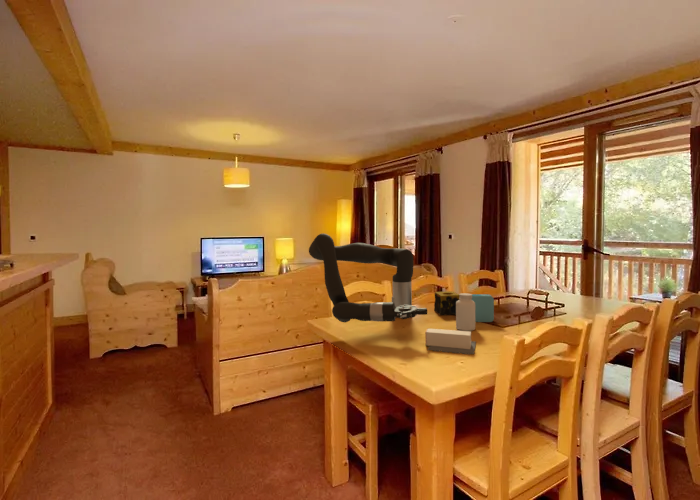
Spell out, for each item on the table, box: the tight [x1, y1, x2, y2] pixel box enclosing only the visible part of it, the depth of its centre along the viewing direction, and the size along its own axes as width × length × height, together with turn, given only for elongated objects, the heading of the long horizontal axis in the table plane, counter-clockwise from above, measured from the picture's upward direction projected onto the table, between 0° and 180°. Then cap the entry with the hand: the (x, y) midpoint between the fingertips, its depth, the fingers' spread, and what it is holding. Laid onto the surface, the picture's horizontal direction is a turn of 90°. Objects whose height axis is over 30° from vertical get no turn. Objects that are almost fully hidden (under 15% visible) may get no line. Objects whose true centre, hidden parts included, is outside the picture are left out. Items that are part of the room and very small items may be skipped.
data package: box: [471, 293, 495, 323], centre depth 177 cm, size 12×4×12 cm, turn 81°
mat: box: [427, 340, 477, 355], centre depth 142 cm, size 16×14×1 cm
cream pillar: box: [424, 328, 472, 349], centre depth 143 cm, size 5×5×16 cm
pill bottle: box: [455, 292, 476, 332], centre depth 164 cm, size 8×8×15 cm
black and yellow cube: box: [433, 290, 460, 316], centre depth 193 cm, size 10×10×10 cm
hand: (427, 311), depth 148 cm, fingers closed
